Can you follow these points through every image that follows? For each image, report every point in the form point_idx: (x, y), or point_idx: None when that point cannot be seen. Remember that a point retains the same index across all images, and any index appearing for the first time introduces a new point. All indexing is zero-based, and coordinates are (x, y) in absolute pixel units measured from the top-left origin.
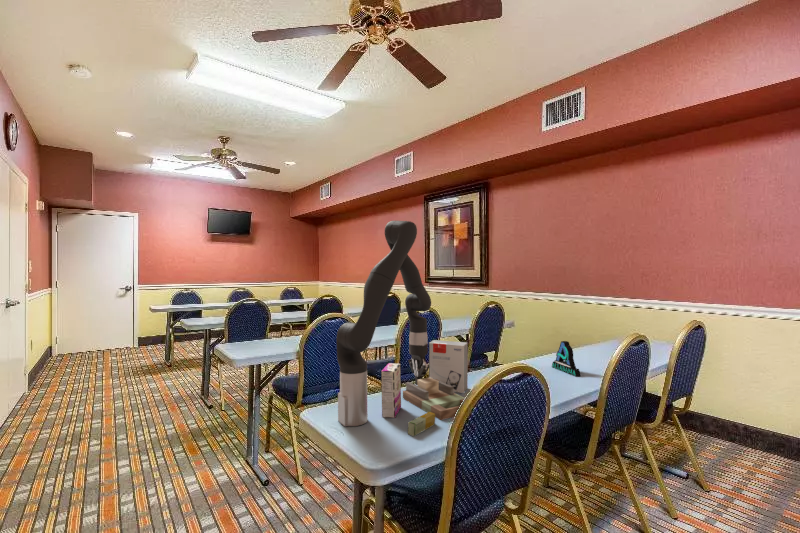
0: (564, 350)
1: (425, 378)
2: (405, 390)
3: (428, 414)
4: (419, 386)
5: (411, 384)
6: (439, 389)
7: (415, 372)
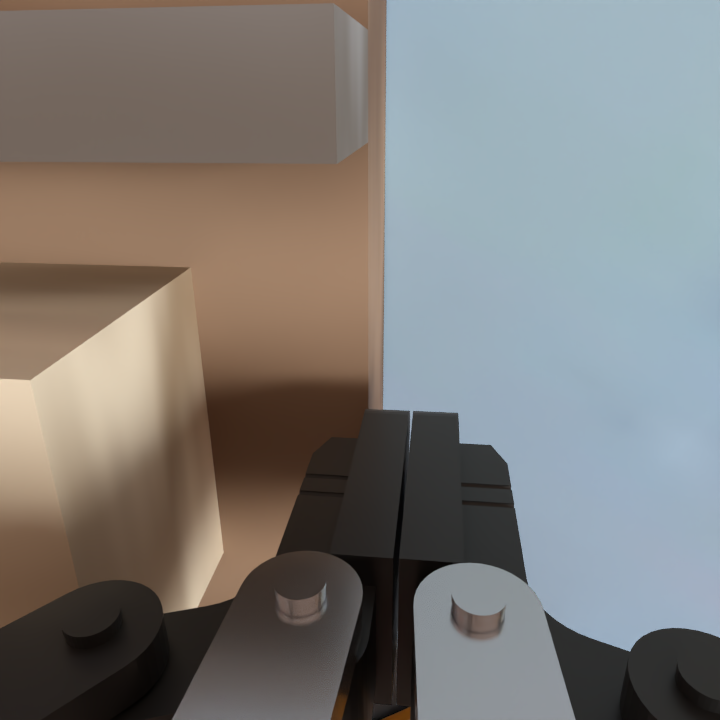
0: None
1: None
2: (361, 1)
3: None
4: (28, 302)
5: (51, 82)
6: None
7: (438, 675)
